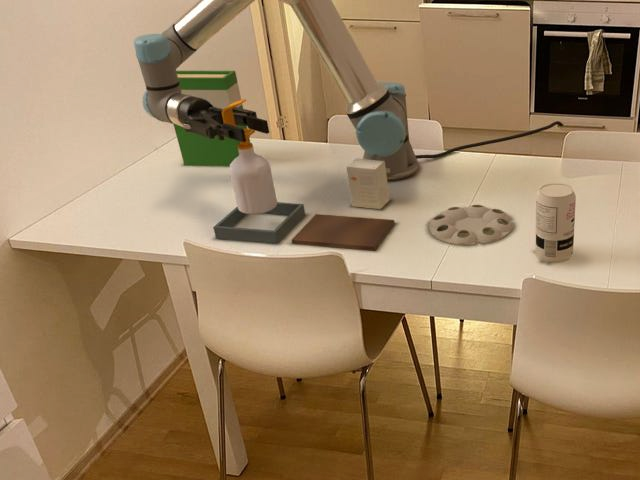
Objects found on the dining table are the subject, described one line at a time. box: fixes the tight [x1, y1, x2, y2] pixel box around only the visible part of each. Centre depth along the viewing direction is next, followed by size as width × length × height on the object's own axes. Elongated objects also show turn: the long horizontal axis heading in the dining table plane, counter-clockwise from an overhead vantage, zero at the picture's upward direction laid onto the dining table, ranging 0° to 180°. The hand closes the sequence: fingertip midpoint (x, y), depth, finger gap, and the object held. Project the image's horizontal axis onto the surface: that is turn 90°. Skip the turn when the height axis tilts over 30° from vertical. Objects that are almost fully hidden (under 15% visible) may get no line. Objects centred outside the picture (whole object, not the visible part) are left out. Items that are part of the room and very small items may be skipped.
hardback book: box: [173, 70, 251, 167], centre depth 209 cm, size 18×7×24 cm, turn 83°
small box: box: [345, 158, 391, 210], centre depth 186 cm, size 8×6×10 cm
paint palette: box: [429, 204, 514, 246], centre depth 176 cm, size 20×20×2 cm
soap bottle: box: [222, 98, 278, 215], centre depth 170 cm, size 9×9×25 cm
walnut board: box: [291, 213, 396, 252], centre depth 175 cm, size 20×14×1 cm
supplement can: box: [534, 182, 577, 263], centre depth 159 cm, size 8×8×15 cm
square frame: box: [212, 201, 306, 245], centre depth 179 cm, size 16×16×3 cm
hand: (255, 131), depth 163 cm, fingers closed on soap bottle, 6 cm apart
